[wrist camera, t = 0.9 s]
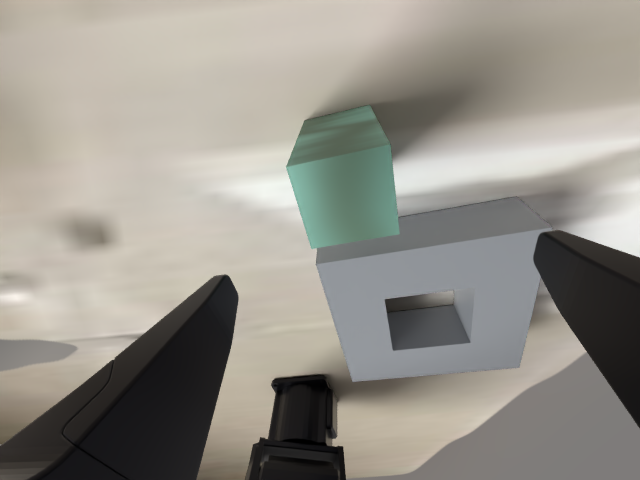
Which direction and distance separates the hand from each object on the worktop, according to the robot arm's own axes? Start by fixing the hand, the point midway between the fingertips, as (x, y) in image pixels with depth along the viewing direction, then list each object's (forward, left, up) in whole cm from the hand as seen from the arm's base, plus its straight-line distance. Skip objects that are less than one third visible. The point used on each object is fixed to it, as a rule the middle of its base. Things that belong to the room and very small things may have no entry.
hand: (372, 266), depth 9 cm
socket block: (+3, -13, -12) cm, 18 cm away
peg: (-1, 0, -12) cm, 12 cm away
